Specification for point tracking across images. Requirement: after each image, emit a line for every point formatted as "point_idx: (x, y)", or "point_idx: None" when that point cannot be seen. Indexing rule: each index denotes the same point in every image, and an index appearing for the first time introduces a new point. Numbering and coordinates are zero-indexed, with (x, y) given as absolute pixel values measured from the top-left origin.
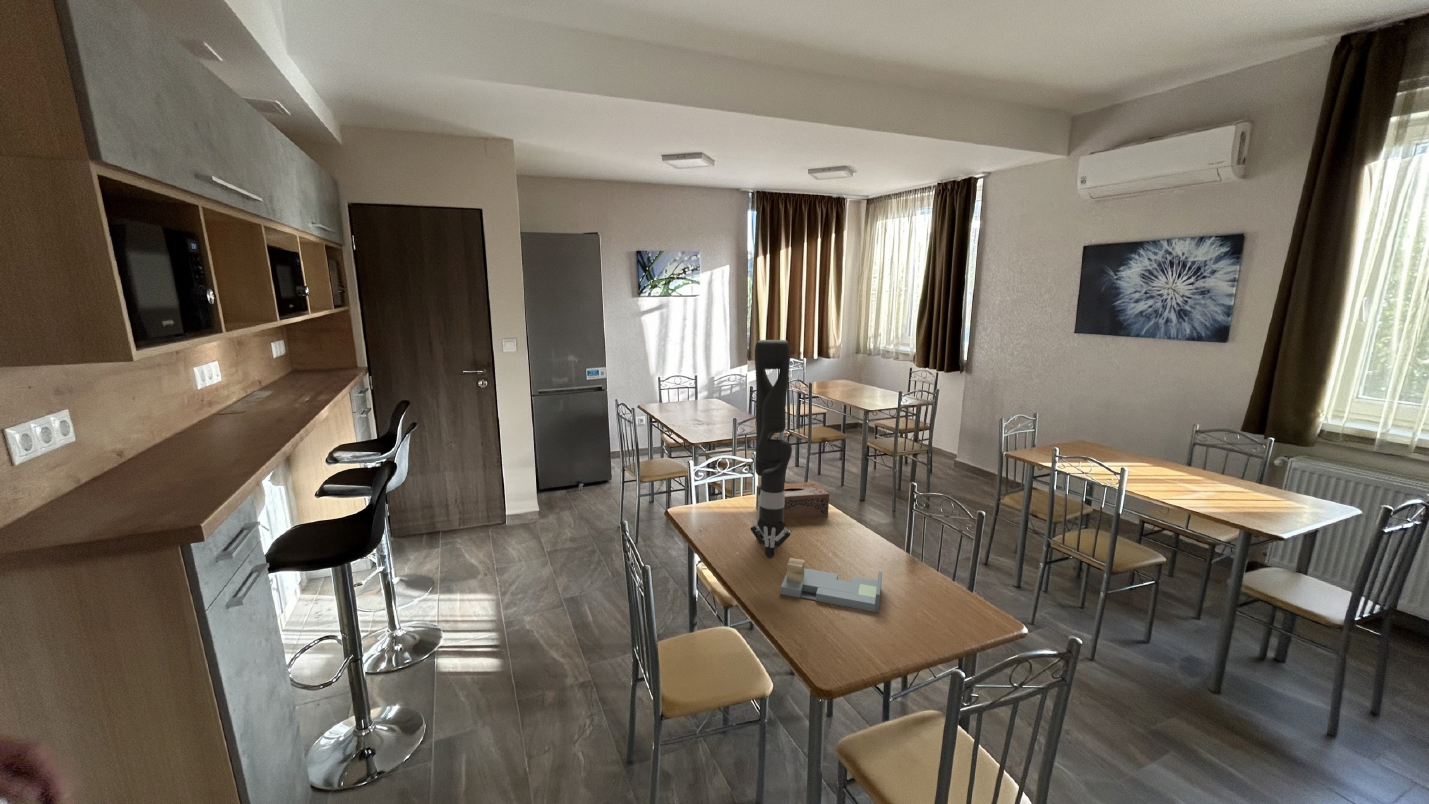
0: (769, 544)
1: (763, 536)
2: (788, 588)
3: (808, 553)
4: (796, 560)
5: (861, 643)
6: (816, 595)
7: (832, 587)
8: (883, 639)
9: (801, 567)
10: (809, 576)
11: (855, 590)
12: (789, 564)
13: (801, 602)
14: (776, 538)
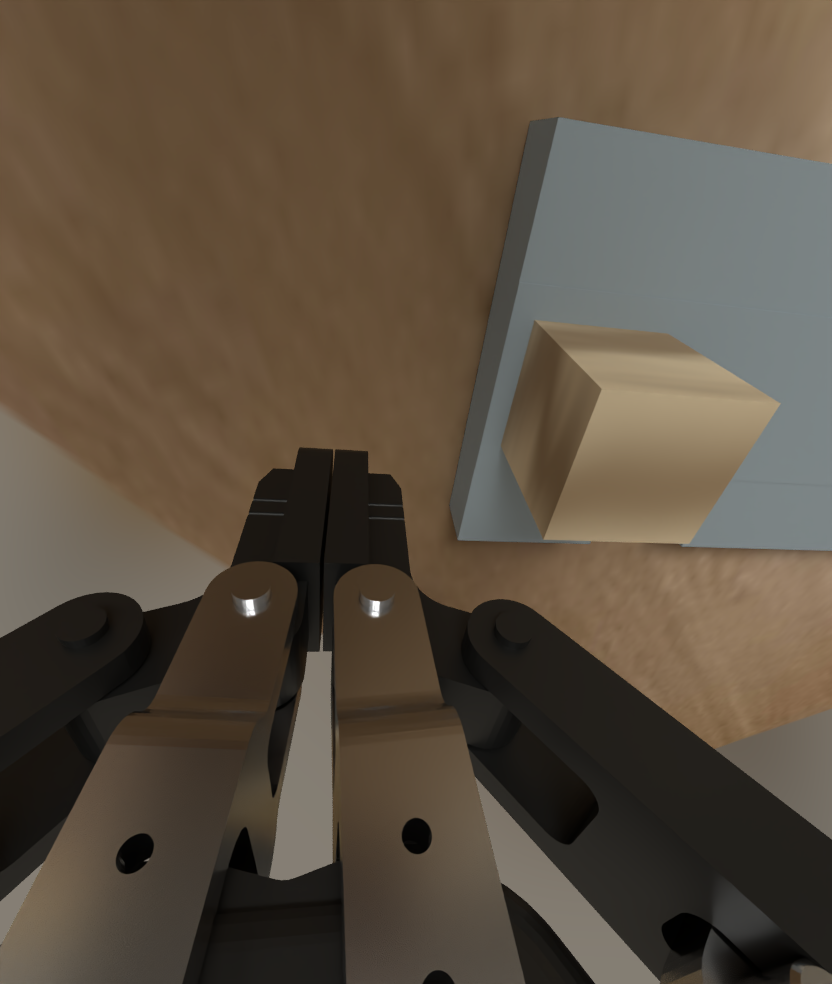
0: (304, 671)
1: (42, 703)
2: (510, 540)
3: None
4: (670, 435)
5: (734, 685)
6: None
7: (828, 460)
8: (826, 655)
9: (680, 538)
10: (714, 341)
11: None
12: (567, 535)
13: (569, 544)
14: (441, 708)
